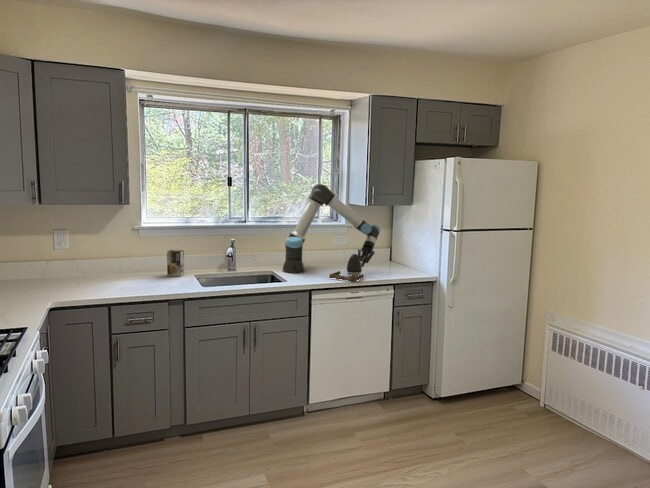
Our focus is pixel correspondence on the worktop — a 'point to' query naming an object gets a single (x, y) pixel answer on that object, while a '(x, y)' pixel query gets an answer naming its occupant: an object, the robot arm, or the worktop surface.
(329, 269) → the worktop surface
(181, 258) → the coffee box
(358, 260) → the dark grey tapered dome
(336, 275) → the walnut bay
